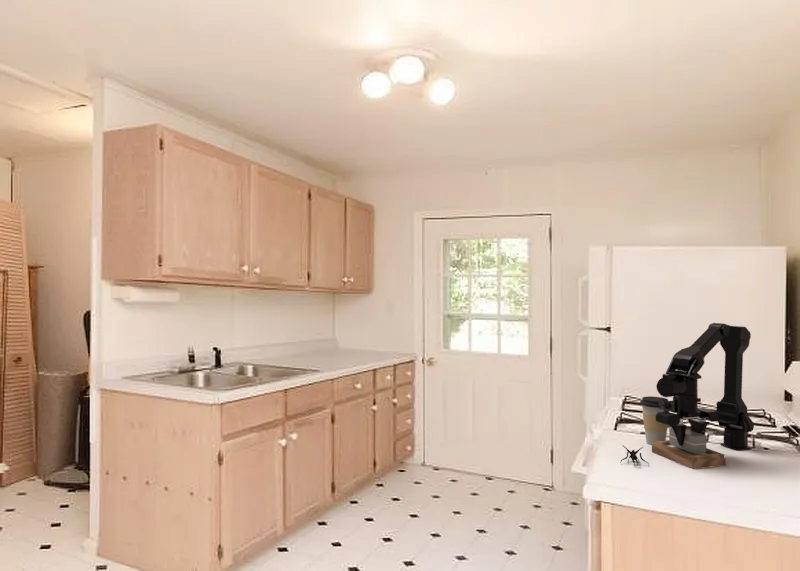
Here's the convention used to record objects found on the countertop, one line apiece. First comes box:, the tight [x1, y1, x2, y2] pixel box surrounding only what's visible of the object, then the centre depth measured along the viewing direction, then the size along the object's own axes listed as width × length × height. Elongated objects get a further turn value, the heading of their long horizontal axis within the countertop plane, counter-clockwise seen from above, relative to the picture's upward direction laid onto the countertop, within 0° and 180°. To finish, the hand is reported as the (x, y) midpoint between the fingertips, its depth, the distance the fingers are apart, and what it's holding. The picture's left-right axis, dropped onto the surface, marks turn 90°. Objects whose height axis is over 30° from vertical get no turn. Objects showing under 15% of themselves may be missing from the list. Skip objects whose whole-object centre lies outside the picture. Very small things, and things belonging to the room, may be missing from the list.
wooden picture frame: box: [651, 440, 727, 470], centre depth 166 cm, size 12×16×3 cm
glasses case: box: [668, 427, 707, 454], centre depth 166 cm, size 4×10×5 cm, turn 15°
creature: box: [620, 444, 650, 468], centre depth 160 cm, size 8×5×8 cm
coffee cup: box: [639, 395, 669, 446], centre depth 182 cm, size 9×9×15 cm
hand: (687, 444), depth 166 cm, fingers closed on glasses case, 4 cm apart
